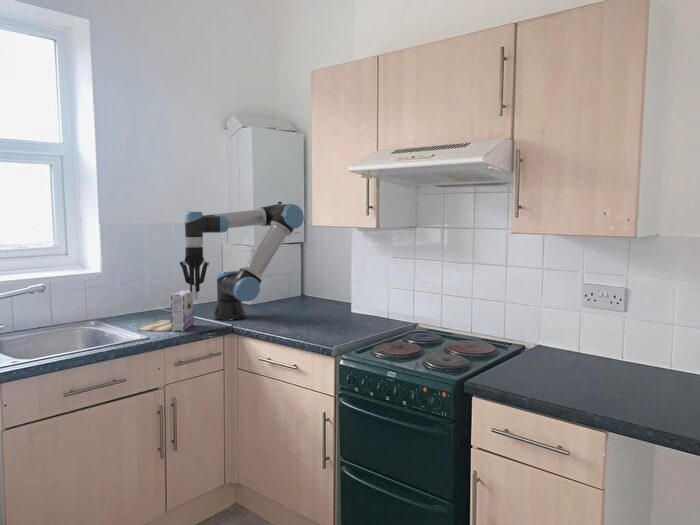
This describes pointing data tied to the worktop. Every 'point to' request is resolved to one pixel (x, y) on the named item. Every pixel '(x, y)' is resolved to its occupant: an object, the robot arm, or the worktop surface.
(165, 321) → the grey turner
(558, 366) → the worktop surface
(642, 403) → the worktop surface
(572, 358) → the worktop surface
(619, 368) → the worktop surface
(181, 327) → the candy box
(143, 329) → the beech board
